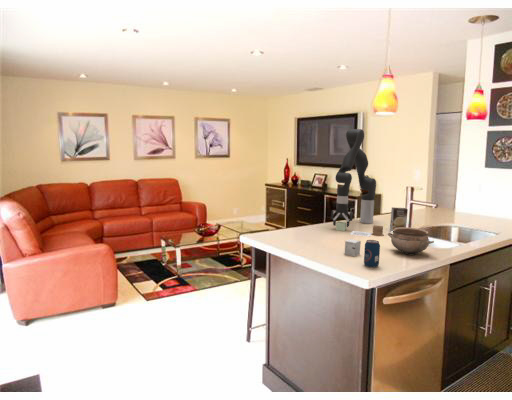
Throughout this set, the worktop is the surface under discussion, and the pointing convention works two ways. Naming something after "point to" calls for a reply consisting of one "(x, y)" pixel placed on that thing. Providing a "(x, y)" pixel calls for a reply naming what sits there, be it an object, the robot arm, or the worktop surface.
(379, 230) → the walnut block
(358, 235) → the letter
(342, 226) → the sage cube
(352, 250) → the skincare box
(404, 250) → the cooking pot
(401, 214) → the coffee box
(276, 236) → the worktop surface
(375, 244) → the soda can
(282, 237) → the worktop surface
